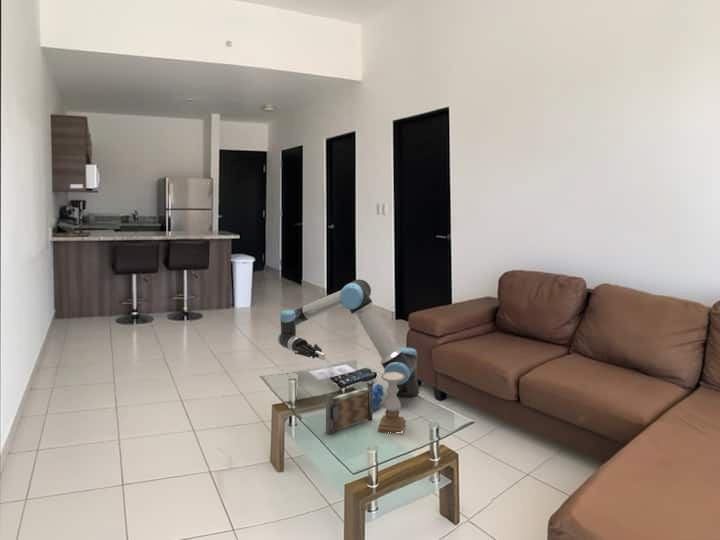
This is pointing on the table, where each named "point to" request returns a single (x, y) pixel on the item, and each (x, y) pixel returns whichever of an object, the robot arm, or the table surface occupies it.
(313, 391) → the table surface
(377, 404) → the grapes
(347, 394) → the gate
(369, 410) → the hinge post
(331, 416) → the post
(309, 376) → the table surface
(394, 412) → the candle holder
